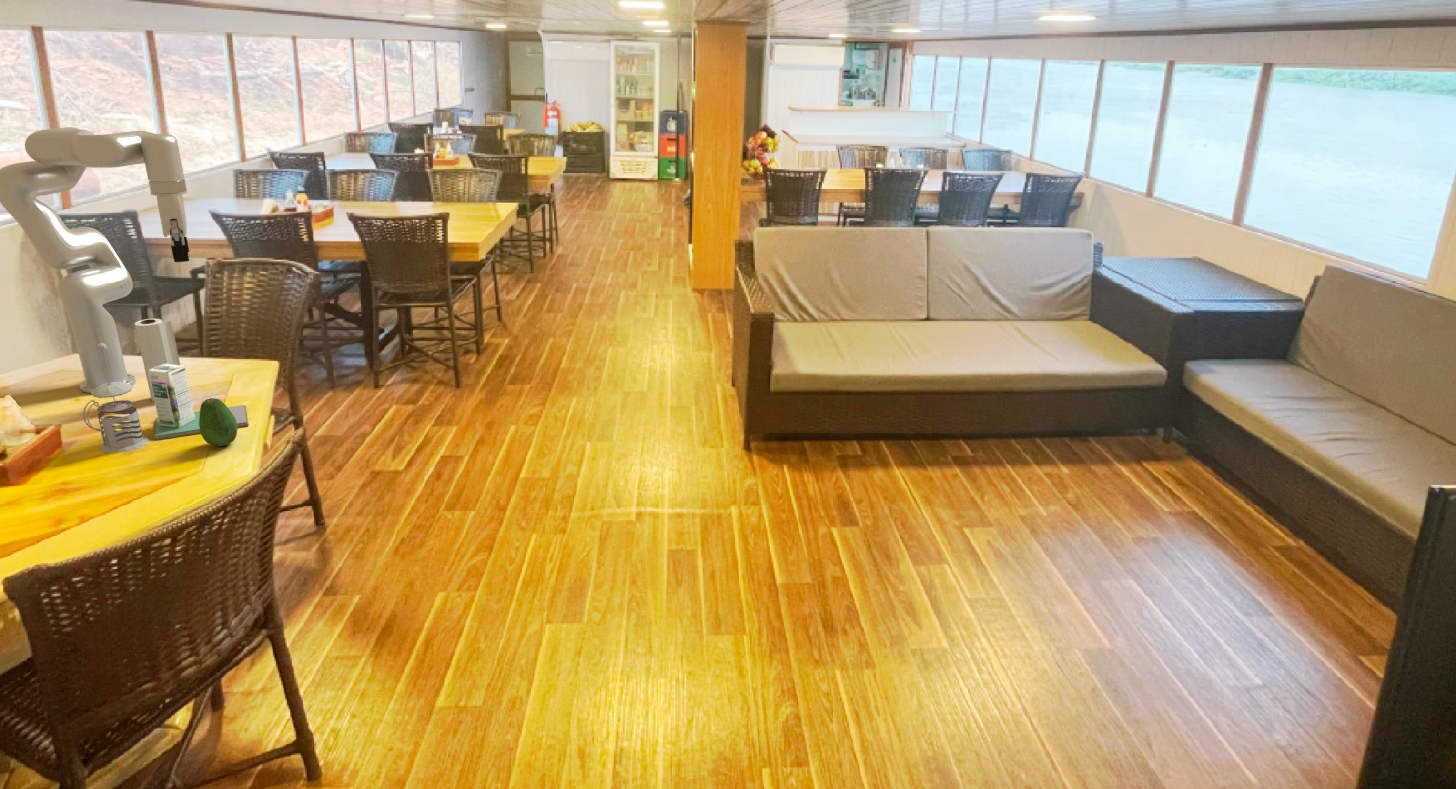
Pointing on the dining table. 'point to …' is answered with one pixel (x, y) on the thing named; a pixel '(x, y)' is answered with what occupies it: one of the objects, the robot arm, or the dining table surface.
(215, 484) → the dining table surface
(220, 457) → the dining table surface
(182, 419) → the syrup box
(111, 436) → the french press
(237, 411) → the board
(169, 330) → the paper towel roll
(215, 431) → the avocado
